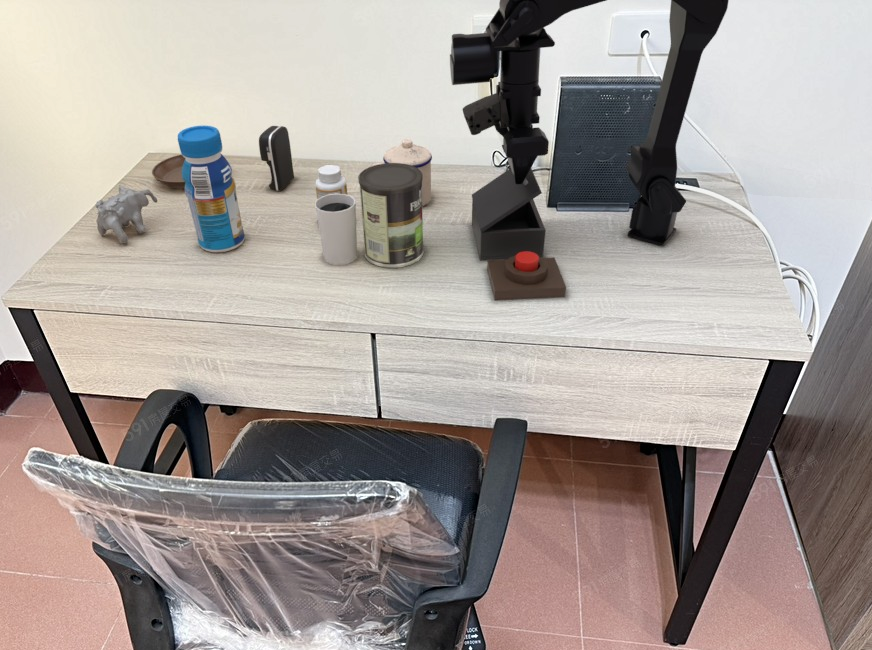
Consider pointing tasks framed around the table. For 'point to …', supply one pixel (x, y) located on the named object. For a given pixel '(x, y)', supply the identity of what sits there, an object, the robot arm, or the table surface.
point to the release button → (526, 261)
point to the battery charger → (277, 156)
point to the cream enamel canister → (413, 163)
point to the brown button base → (525, 280)
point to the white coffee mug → (337, 228)
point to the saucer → (170, 172)
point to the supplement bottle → (330, 181)
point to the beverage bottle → (210, 189)
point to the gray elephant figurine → (122, 212)
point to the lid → (503, 197)
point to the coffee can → (392, 214)
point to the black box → (511, 234)
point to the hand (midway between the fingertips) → (516, 176)
